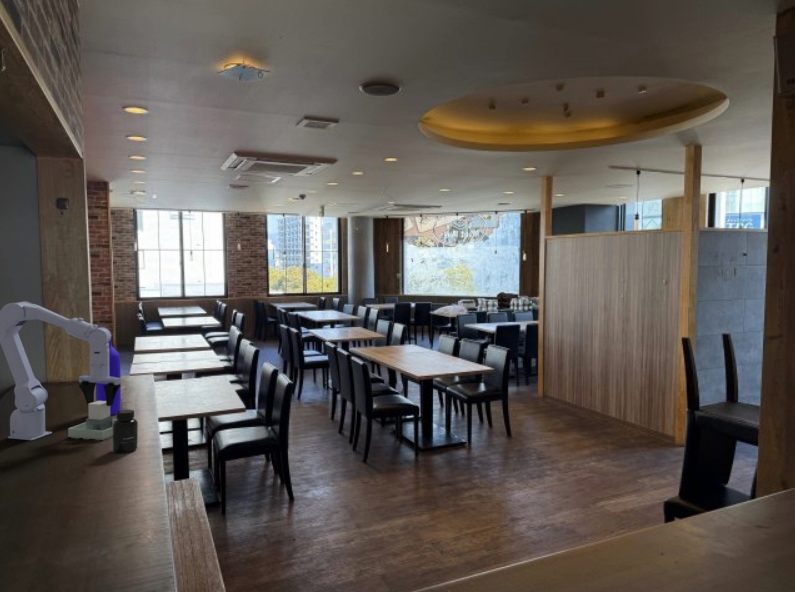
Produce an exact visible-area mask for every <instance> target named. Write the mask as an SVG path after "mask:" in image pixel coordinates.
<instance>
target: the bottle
mask: <svg viewBox="0 0 795 592" xmlns="http://www.w3.org/2000/svg"><path fill="white" fill-rule="evenodd" d="M112 337H113V334H111V339H110V341H109V342H108V343H109V376H111V377H116V378H122V377H121V374H122V373H121V357H120V354H119V351H117V350H116V349H115V347H114V346H112ZM106 344H107V343H106ZM121 384H122V383H121ZM121 384H120V387H119V389H118V391H117V393H116V395H115V398H114V402H113V405H111V406H110V416H114V415H113V414H115V415H117V412H118V411H121V404H122V403H121V402H122V401H121V398H122V397H121V396H122V395H121V392H122V390H121V389H122V388H121V386H122V385H121ZM105 385H108V384H105V383H96V385H95V400H96V401H106V394H105V390H104V388H103V386H105ZM96 401H95V402H96Z"/></svg>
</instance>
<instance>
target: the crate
mask: <svg viewBox="0 0 795 592" xmlns="http://www.w3.org/2000/svg"><path fill="white" fill-rule="evenodd" d="M116 420H117V419H114V418H112V428H109V429H106V430H104V431H97V430H86V421H85V422H83V423H80V424H78V425H77V424H76V425H74V426H71V427H69V428H68V430H67V431H68V432H67V435H68V436H67V437H71V438H70V439H79V438H83V439H82V440H89V439H96V440H95V441H100V440H104V441H106V440H108V439H110V437H111V438H113V423H114V422H115V421H116ZM105 439H106V440H105Z"/></svg>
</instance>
